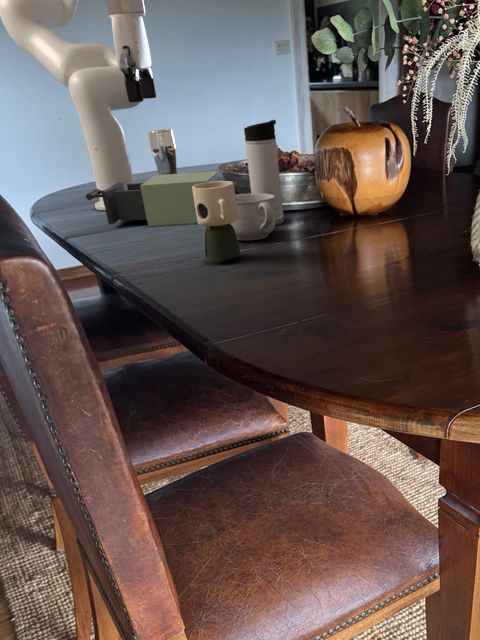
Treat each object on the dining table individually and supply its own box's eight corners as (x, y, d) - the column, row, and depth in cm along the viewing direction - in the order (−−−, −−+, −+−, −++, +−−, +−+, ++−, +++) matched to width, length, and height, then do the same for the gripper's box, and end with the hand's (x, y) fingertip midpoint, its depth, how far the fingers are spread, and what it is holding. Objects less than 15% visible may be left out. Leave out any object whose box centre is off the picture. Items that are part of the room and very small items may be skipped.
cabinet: (148, 226, 145) (139, 185, 141) (162, 213, 156) (155, 175, 152) (213, 222, 144) (206, 180, 139) (223, 209, 155) (217, 170, 150)
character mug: (197, 256, 120) (184, 183, 113) (233, 250, 122) (223, 177, 115) (213, 271, 111) (200, 192, 104) (252, 263, 113) (242, 185, 107)
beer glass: (179, 187, 187) (169, 130, 179) (155, 188, 187) (145, 132, 180) (184, 182, 193) (174, 128, 185) (161, 184, 193) (150, 130, 186)
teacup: (218, 236, 132) (212, 195, 128) (268, 227, 135) (264, 188, 131) (238, 251, 121) (232, 207, 117) (292, 241, 124) (288, 198, 120)
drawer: (87, 225, 146) (79, 193, 143) (104, 214, 156) (97, 184, 153) (167, 220, 145) (161, 188, 141) (179, 209, 155) (174, 178, 151)
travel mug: (281, 226, 136) (271, 121, 125) (251, 227, 137) (238, 123, 127) (288, 219, 141) (279, 118, 131) (259, 220, 142) (248, 120, 132)
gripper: (122, 12, 143) (138, 98, 152) (94, 9, 128) (113, 104, 137) (155, 9, 143) (169, 96, 151) (130, 6, 128) (147, 102, 137)
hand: (143, 100), depth 144 cm, fingers open, 9 cm apart
